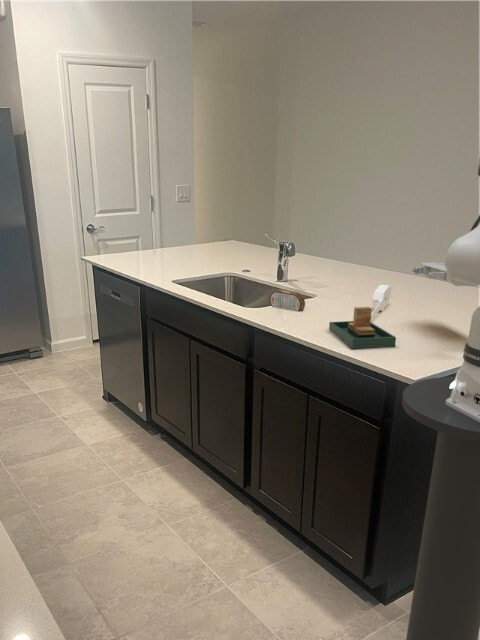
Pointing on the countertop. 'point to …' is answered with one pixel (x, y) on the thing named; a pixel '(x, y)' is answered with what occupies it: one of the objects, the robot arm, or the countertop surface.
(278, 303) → the tin
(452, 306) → the countertop surface
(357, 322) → the wooden inverted t block
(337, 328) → the tray
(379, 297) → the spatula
